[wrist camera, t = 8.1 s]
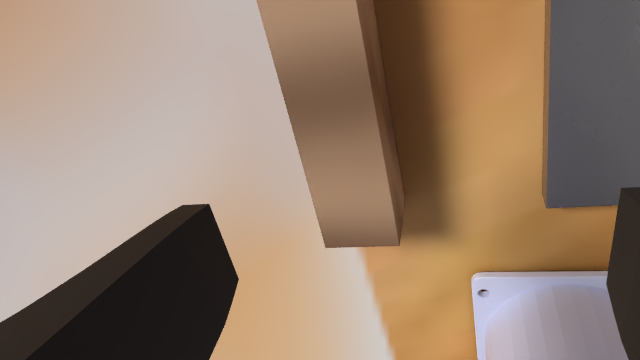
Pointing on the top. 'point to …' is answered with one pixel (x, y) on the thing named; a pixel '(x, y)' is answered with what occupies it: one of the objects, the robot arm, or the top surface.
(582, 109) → the plate
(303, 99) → the brown rectangular block
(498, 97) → the top surface
